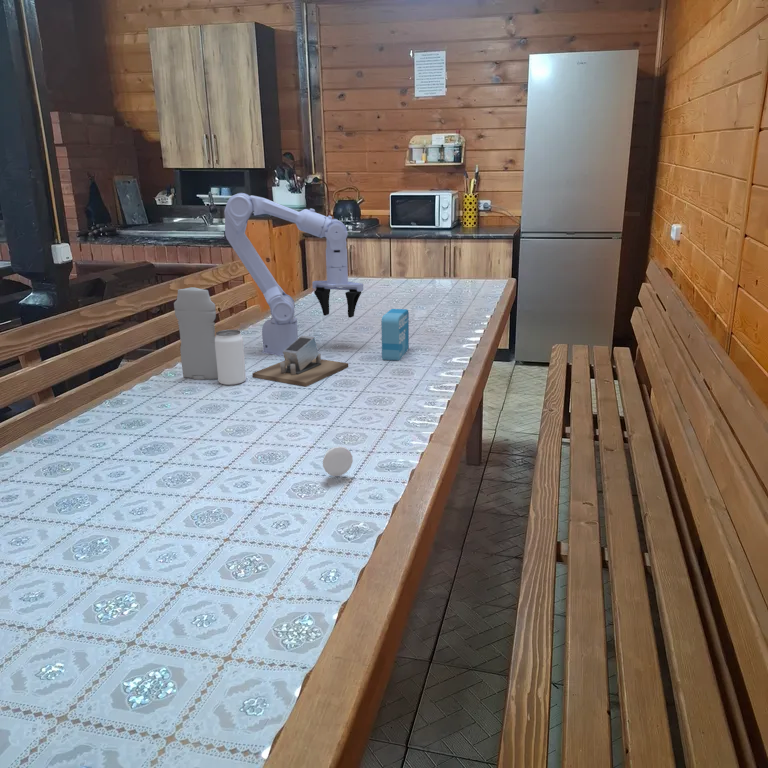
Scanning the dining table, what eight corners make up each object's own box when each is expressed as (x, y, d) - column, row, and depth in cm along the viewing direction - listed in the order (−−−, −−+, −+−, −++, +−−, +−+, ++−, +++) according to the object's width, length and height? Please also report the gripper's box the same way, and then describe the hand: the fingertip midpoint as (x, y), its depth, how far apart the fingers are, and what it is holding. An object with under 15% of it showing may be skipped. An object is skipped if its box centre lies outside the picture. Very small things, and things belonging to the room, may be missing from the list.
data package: (398, 363, 174) (398, 317, 170) (381, 362, 175) (381, 316, 171) (408, 351, 185) (408, 308, 181) (392, 350, 186) (392, 307, 182)
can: (251, 378, 162) (247, 330, 158) (237, 386, 156) (232, 336, 153) (227, 376, 164) (223, 328, 160) (213, 384, 158) (208, 334, 155)
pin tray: (252, 377, 163) (251, 363, 162) (297, 359, 178) (297, 346, 177) (305, 386, 156) (305, 372, 155) (348, 367, 170) (348, 353, 169)
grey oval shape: (325, 479, 109) (323, 451, 108) (319, 472, 112) (318, 444, 110) (353, 474, 111) (353, 446, 109) (347, 467, 114) (346, 439, 112)
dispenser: (177, 378, 163) (167, 288, 156) (185, 373, 167) (176, 285, 160) (218, 381, 161) (209, 289, 154) (225, 376, 165) (217, 286, 158)
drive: (287, 369, 165) (282, 351, 162) (305, 352, 171) (301, 335, 168) (300, 371, 163) (295, 353, 160) (318, 354, 169) (314, 337, 166)
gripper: (305, 266, 180) (308, 316, 184) (354, 269, 174) (356, 320, 179) (318, 263, 186) (320, 311, 190) (366, 265, 181) (367, 315, 185)
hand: (338, 315), depth 185 cm, fingers open, 7 cm apart
